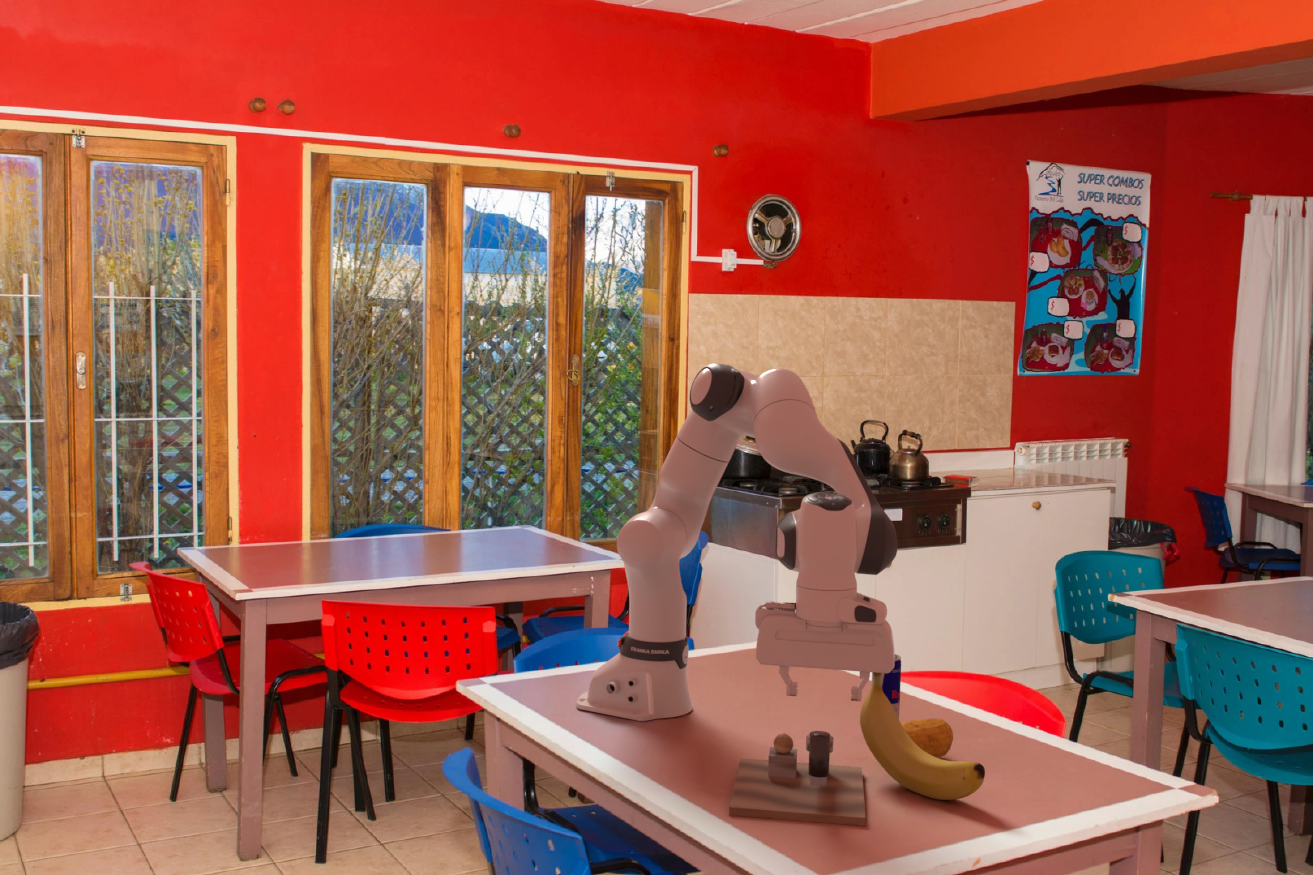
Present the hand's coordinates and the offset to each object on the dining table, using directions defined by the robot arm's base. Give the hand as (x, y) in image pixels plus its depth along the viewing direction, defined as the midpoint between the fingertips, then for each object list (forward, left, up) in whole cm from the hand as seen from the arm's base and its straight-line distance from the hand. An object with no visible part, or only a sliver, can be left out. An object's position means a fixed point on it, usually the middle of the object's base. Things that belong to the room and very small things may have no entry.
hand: (823, 697), depth 173 cm
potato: (+11, +32, -19) cm, 38 cm away
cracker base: (-5, +9, -18) cm, 21 cm away
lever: (-2, +8, -13) cm, 16 cm away
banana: (+13, +18, -19) cm, 29 cm away
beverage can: (+4, +44, -19) cm, 47 cm away
